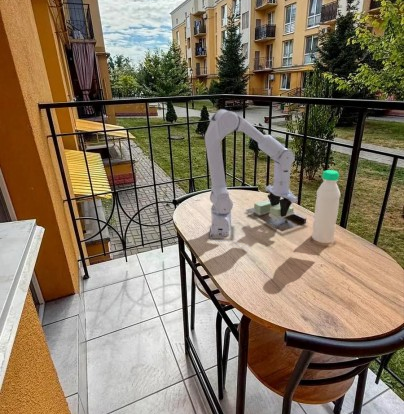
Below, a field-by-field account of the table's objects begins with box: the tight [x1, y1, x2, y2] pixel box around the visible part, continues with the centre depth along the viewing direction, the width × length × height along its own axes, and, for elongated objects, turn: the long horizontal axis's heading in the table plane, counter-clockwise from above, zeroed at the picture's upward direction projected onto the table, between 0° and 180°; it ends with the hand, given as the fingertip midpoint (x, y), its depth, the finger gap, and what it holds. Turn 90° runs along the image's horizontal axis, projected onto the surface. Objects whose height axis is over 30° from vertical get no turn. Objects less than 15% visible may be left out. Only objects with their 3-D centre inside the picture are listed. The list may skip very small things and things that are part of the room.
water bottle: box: [311, 169, 341, 245], centre depth 92 cm, size 7×7×25 cm
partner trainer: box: [253, 199, 271, 216], centre depth 116 cm, size 9×4×4 cm, turn 118°
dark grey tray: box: [245, 199, 307, 232], centre depth 112 cm, size 12×22×4 cm, turn 28°
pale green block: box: [269, 203, 295, 220], centre depth 108 cm, size 9×4×4 cm, turn 118°
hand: (279, 213), depth 108 cm, fingers closed on pale green block, 4 cm apart
